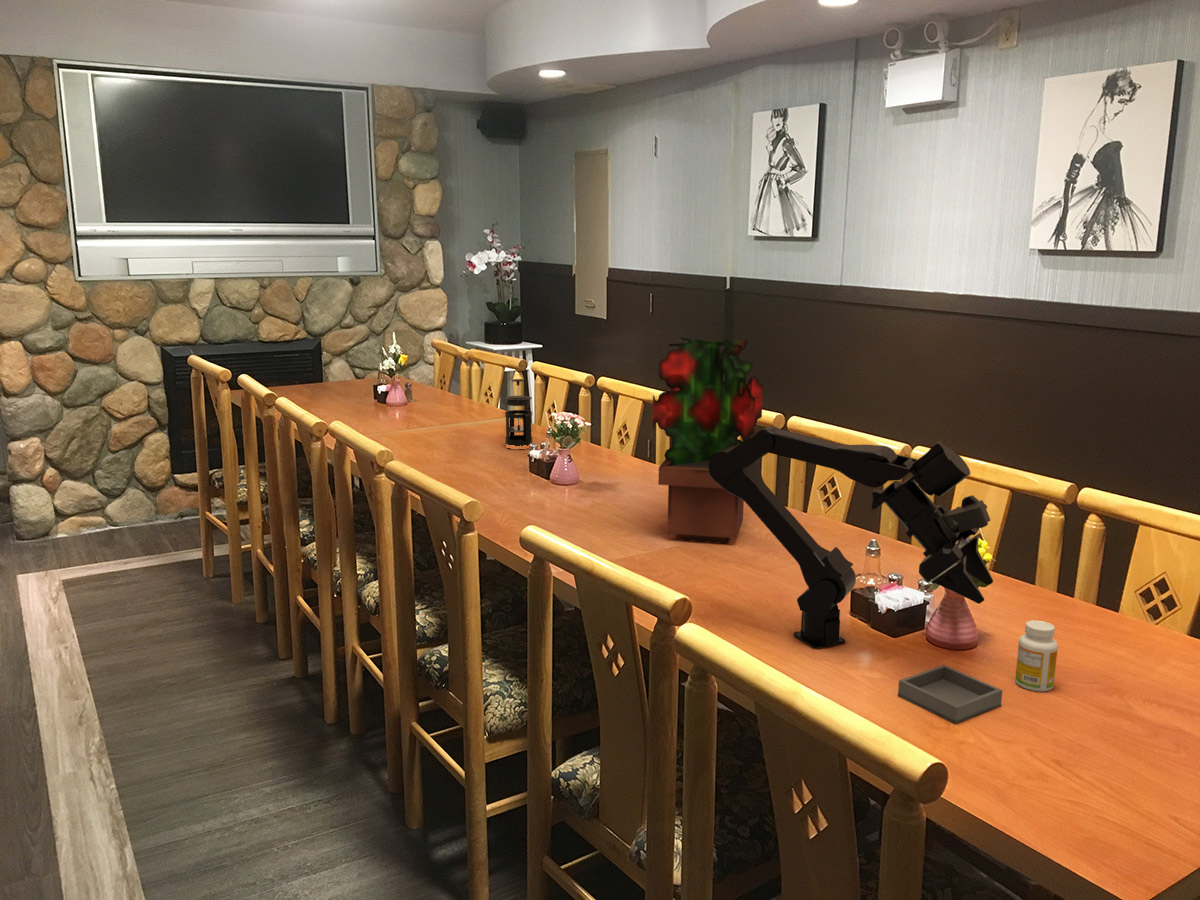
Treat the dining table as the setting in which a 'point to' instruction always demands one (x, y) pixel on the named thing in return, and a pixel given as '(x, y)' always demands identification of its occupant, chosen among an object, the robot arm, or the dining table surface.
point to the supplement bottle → (1037, 657)
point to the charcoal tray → (950, 693)
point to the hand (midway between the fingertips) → (986, 592)
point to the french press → (512, 414)
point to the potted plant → (704, 433)
